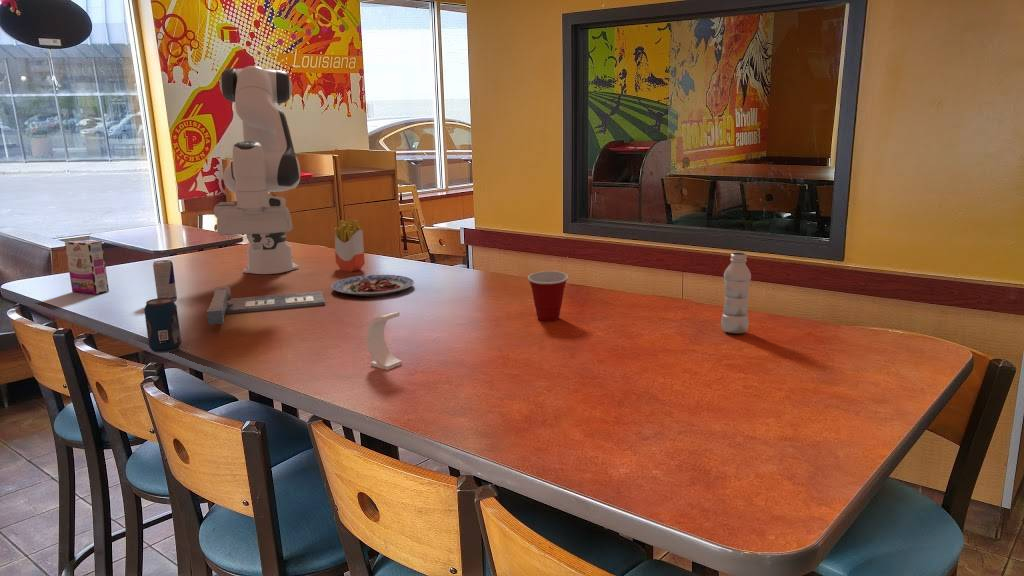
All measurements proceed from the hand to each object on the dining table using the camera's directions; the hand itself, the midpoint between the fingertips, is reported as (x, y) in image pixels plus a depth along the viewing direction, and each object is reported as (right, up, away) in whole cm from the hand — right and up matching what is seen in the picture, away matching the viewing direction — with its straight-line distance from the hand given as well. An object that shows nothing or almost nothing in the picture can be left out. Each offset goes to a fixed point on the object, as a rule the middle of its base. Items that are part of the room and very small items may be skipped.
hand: (257, 249), depth 206 cm
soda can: (-10, -26, -33) cm, 43 cm away
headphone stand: (+45, -28, -46) cm, 70 cm away
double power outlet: (+2, -16, +7) cm, 17 cm away
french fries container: (+15, -5, +53) cm, 55 cm away
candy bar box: (-62, -13, +25) cm, 68 cm away
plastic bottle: (+128, -22, -26) cm, 133 cm away
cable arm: (-7, -17, -9) cm, 21 cm away
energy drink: (-32, -15, +13) cm, 38 cm away
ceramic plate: (+29, -12, +24) cm, 39 cm away
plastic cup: (+82, -20, -12) cm, 86 cm away
